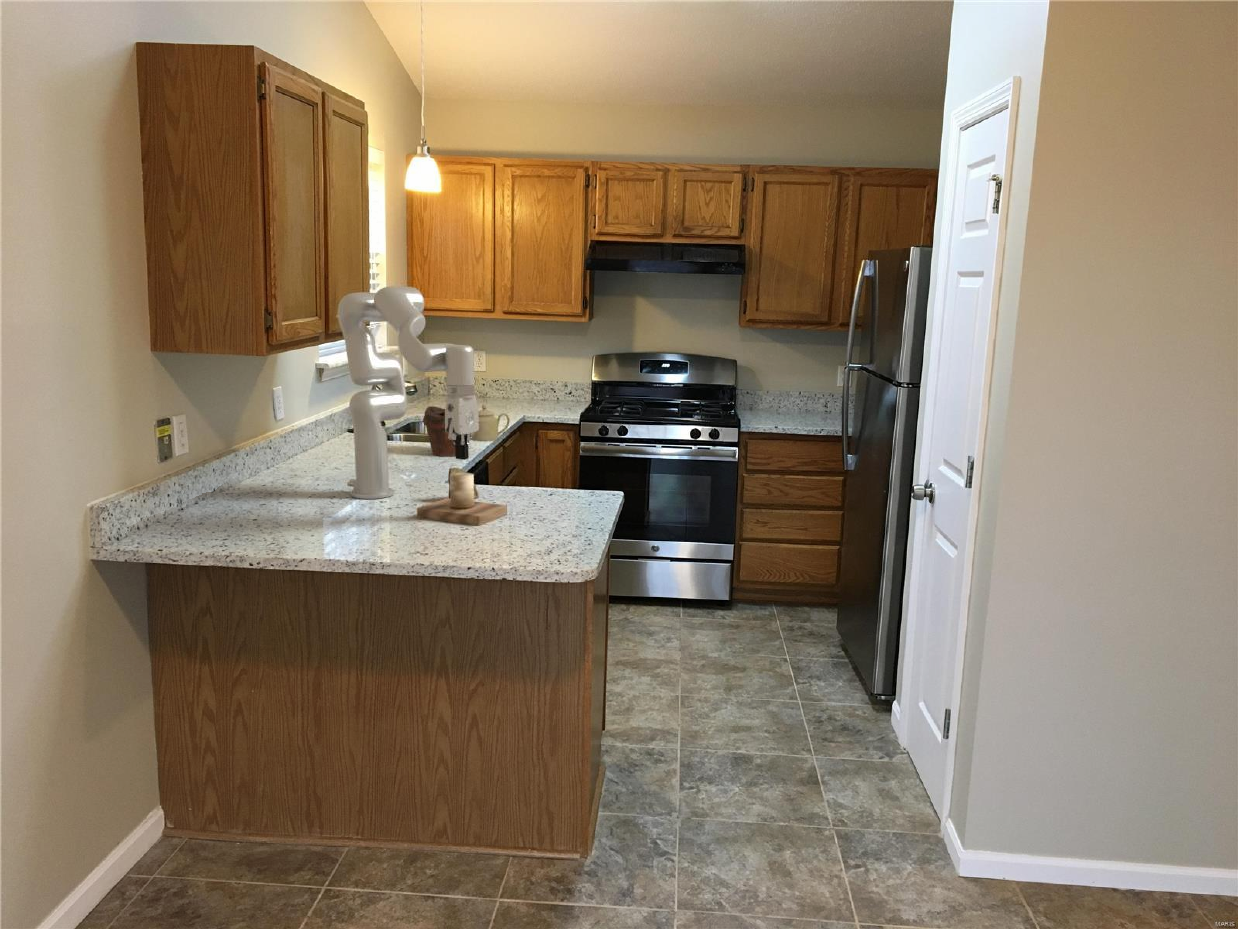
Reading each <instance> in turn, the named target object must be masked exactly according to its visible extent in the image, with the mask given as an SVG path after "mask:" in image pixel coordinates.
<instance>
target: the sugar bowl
mask: <svg viewBox="0 0 1238 929" xmlns="http://www.w3.org/2000/svg"><path fill="white" fill-rule="evenodd" d="M487 407H488V406H487V405H486V404H485V403H483V404H482V405H481V410H478V416H479V429H478V431H476V432H474V435H472V436H471V440H472V441H474V442H493V441H498V439H499V436H500V435H501V434H503V433H504V432H505V431H506V430H507V429H508V428H509V425H510V422H511V420H510V416H509V414H507V413H506V412H501V413H500V414H499V415H498V417H497V418H496V417H495V413H494V412H493V411H491V410H488V409H487ZM503 416H506V418H507V419H506V420H507V422H506V425H505V426H504V428H503V429H502V430H500V431H499V424H500V419H501V417H503Z"/></svg>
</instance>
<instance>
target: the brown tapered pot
mask: <svg viewBox="0 0 1238 929" xmlns="http://www.w3.org/2000/svg"><path fill="white" fill-rule="evenodd" d="M422 423H423V424H424V425H425V427H426V431H427V437H428V440H429V445H430V448H431V454H432V455H434V456H437V457H445V458H446V457H455V445H454V441H453V440H451V439H448V435H449V434H448V433H446V430H445V408H442V407H439V406H434V405H433V406H427V407H426V408H425V410H424V416H423V418H422Z"/></svg>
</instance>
